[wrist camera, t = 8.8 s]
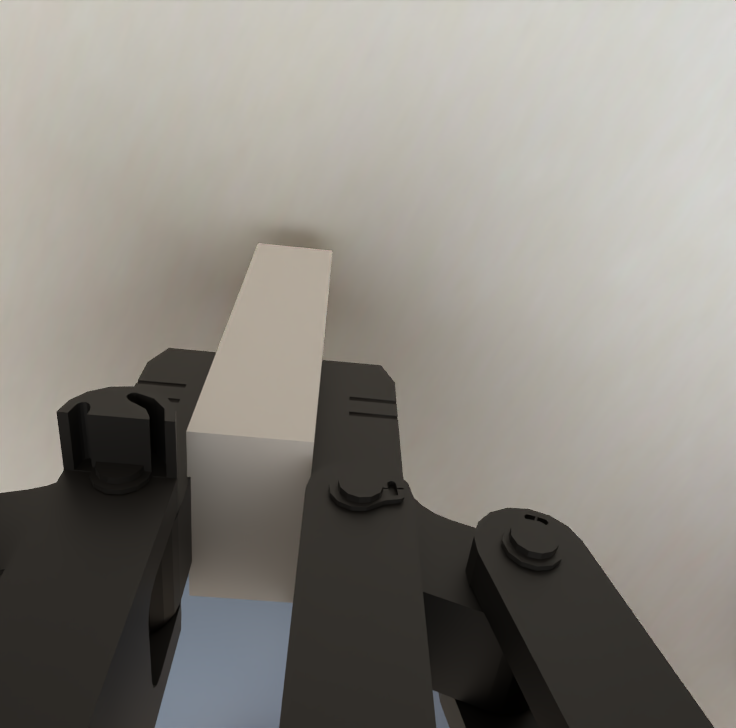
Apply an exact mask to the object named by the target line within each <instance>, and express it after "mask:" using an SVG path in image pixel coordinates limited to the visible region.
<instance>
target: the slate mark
mask: <svg viewBox="0 0 736 728" xmlns="http://www.w3.org/2000/svg"><path fill="white" fill-rule="evenodd" d="M292 606H293V603H288V602H274V601H259V600H245V599H231V598H217V597H202V596H189V574H188V578H187V581H186V585H185V588H184V592H183V595H182V598H181V614H182V615H181V632H180V636H179V639H178V643H177V647H176V650H175V654H174V658H173V662H172V665H171V669H170V673H169V676H168V680H167V684H166V688H165V691H164V695H163V699H162V702H161V706H160V710H159V714H158V717H157V721H156V725H155V728H279V724H280V715H281V706H282V697H283V688H284V679H285V669H286V660H287V651H288V642H289V633H290V624H291V615H292ZM433 699H434V709H435V720H436V728H449V725H448V722H447V720H446V717H445V714H444V712H443V709H442V706H441V703H440V699H439V693H438V692H436V691H433Z"/></svg>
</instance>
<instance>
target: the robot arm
mask: <svg viewBox="0 0 736 728" xmlns="http://www.w3.org/2000/svg"><path fill="white" fill-rule="evenodd" d="M332 252H333V251H331V250H322V249H312V248H302V247H292V246H283V245H273V244H263V243H258V244H257V247H256V249H255V252H254V255H253V257H252V260H251V262H250V265H249V268H248V270H247V273H246V276H245V278H244V281H243V283H242V286H241V289H240V291H239V294H238V297H237V299H236V302H235V304H234V307H233V310H232V312H231V315H230V318H229V320H228V323H227V325H226V328H225V331H224V333H223V336H222V339H221V341H220V344H219V347H218V349H217V352H206V351H195V350H184V349H173V348H168V349H167V350H165V351H164V352H162V353H161V354H159V355H158V356H156V357H155V358H153V359H152V360H150V361H149V362H148V363H147V365H146V367H145V368H144V370H143V372H142V374H141V376H140V377H139V379H138V384H137V383H136V385H135V387H108V388H103V389H98V390H93V391H89V392H86V393H84V394H82V395H80V396H77V397H75V398H73V399H71V400H69V401H68V402H67V403H66V404H65V405H63V406H62V407H61V408H60V409H59V410H58V411H57V419H58V427H59V434H60V442H61V450H62V458H63V466H64V471H63V473H62V474H61V476H60V478H59V479H58V481H57V483H54V484H51V485H48V486H44V487H39V488H34V489H29V490H21V491H14V492H6V493H0V728H155V725H156V721H157V717H158V714H159V710H160V706H161V702H162V699H163V695H164V691H165V688H166V684H167V680H168V676H169V673H170V669H171V665H172V662H173V658H174V654H175V650H176V647H177V643H178V639H179V636H180V632H181V615H182V614H181V598H182V595H183V592H184V588H185V585H186V581H187V578H188V574H189V596H202V597H217V598H231V599H245V600H259V601H274V602H288V603H293V606H292V615H291V624H290V633H289V642H288V651H287V660H286V669H285V679H284V688H283V697H282V706H281V715H280V724H279V728H436V720H435V709H434V699H433V691H436V692H438V693H439V699H440V703H441V706H442V709H443V712H444V714H445V717H446V720H447V722H448V725H449V728H714V727H713V725H712V724H711V723H710V721H709V720H708V718H707V717H706V716H705V714H704V713H703V711H702V710H701V708H700V707H699V706H698V704H697V703H696V701H695V700H694V699H693V697H692V696H691V694H690V693H689V691H688V690H687V689H686V687H685V686H684V684H683V683H682V682H681V680H680V679H679V677H678V676H677V674H676V673H675V672H674V670H673V669H672V667H671V666H670V665H669V663H668V662H667V660H666V659H665V657H664V656H663V655H662V653H661V652H660V650H659V649H658V648H657V646H656V645H655V643H654V642H653V640H652V639H651V638H650V636H649V635H648V633H647V632H646V631H645V629H644V628H643V626H642V625H641V624H640V622H639V621H638V619H637V618H636V616H635V615H634V614H633V612H632V611H631V609H630V608H629V607H628V605H627V604H626V602H625V601H624V599H623V598H622V597H621V595H620V594H619V592H618V591H617V590H616V588H615V587H614V585H613V584H612V582H611V581H610V580H609V578H608V577H607V575H606V574H605V573H604V571H603V570H602V568H601V567H600V565H599V564H598V563H597V561H596V560H595V558H594V557H593V556H592V554H591V553H590V551H589V550H588V548H587V547H586V546H585V544H584V543H583V541H582V540H581V539H580V538H579V537H578V536H577V535H576V534H575V533H574V532H573V531H572V530H571V529H570V528H569V527H568V526H566V525H564V524H563V523H561V522H559V521H558V520H556V519H554V518H553V517H551V516H549V515H546V514H543V513H539V512H536V511H533V510H530V509H519V508H505V509H501V510H498V511H494V512H490V513H489V514H488V515H486V516H485V517H484V518H483V519H482V520H480V521H479V522H478V525H477V528H474V527H471V526H467V525H464V524H461V523H458V522H455V521H452V520H449V519H447V518H444V517H442V516H439V515H437V514H435V513H433V512H431V511H430V510H428V509H427V508H425V507H423V506H422V505H421V504H420V503H419V502H418V501H417V500H416V499H414V498H413V495H412V492H411V490H410V487H409V485H408V483H407V482H406V481H405V480H404V479H403V473H402V462H401V450H400V439H399V427H398V420H397V416H398V415H397V404H396V392H395V382H394V381H393V380H392V379H391V377H390V376H389V375H388V374H387V372H386V371H385V370H384V369H383V367H382V366H380V365H370V364H359V363H348V362H337V361H326V360H323V350H324V339H325V328H326V317H327V306H328V296H329V285H330V274H331V263H332Z"/></svg>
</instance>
